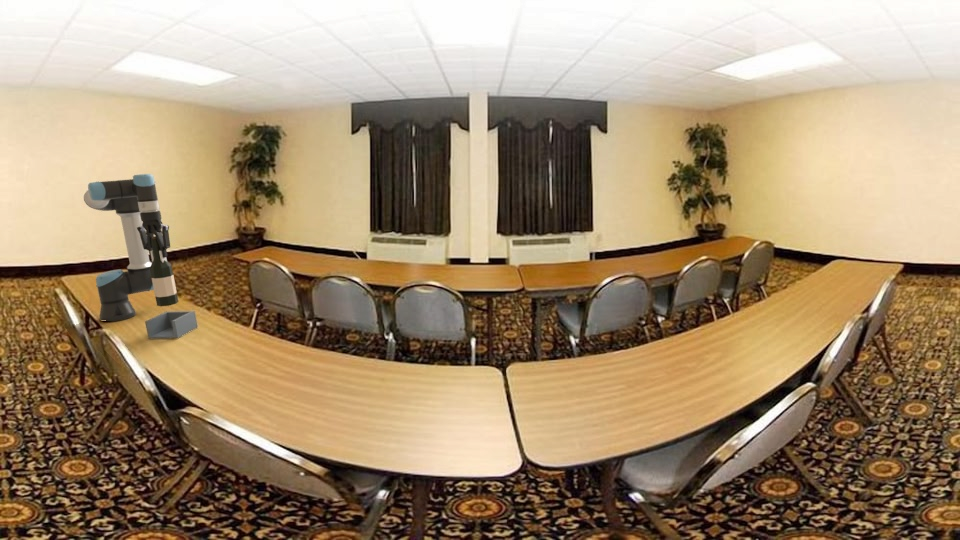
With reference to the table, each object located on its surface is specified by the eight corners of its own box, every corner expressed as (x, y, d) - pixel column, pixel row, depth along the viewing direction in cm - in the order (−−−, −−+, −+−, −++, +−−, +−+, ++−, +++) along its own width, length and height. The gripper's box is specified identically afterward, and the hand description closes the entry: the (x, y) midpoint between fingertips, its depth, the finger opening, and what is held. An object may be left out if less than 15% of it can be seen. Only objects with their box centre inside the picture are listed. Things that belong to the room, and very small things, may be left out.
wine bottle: (169, 306, 237) (155, 238, 230) (152, 306, 239) (138, 238, 232) (182, 300, 245) (170, 234, 238) (166, 300, 247) (153, 235, 240)
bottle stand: (169, 328, 253) (166, 311, 251) (197, 327, 251) (194, 310, 249) (148, 338, 239) (144, 321, 237) (178, 338, 237) (174, 321, 236)
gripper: (125, 213, 230) (136, 267, 235) (161, 211, 228) (172, 266, 233) (138, 210, 237) (149, 263, 242) (173, 209, 235) (183, 262, 240)
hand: (160, 264), depth 238 cm, fingers closed on wine bottle, 3 cm apart
